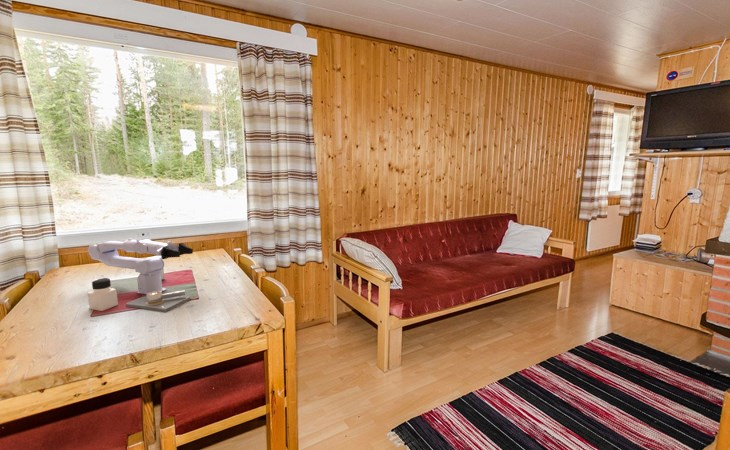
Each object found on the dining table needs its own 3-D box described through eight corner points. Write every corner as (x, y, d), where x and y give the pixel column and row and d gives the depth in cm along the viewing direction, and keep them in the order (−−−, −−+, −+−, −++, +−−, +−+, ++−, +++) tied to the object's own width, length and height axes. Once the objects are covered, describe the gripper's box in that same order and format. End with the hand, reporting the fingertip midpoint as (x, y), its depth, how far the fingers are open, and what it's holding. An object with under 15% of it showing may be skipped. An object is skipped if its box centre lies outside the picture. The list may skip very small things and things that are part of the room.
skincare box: (161, 277, 186) (159, 254, 184) (165, 279, 183) (163, 256, 181) (148, 280, 181) (146, 257, 179) (151, 282, 178) (149, 258, 176)
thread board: (125, 306, 149) (125, 303, 149) (153, 294, 162) (153, 291, 162) (165, 312, 144) (165, 309, 144) (190, 299, 157) (190, 296, 157)
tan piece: (147, 304, 147) (147, 296, 146) (146, 300, 151) (145, 291, 151) (186, 297, 155) (185, 289, 154) (183, 293, 160) (183, 285, 159)
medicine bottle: (118, 305, 150) (115, 277, 148) (101, 311, 144) (98, 283, 141) (106, 302, 152) (103, 275, 150) (89, 308, 146) (85, 280, 144)
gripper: (147, 242, 153) (173, 246, 150) (173, 237, 167) (197, 241, 164) (146, 258, 154) (173, 262, 151) (172, 252, 168) (197, 256, 165)
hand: (185, 252), depth 157 cm, fingers open, 7 cm apart
